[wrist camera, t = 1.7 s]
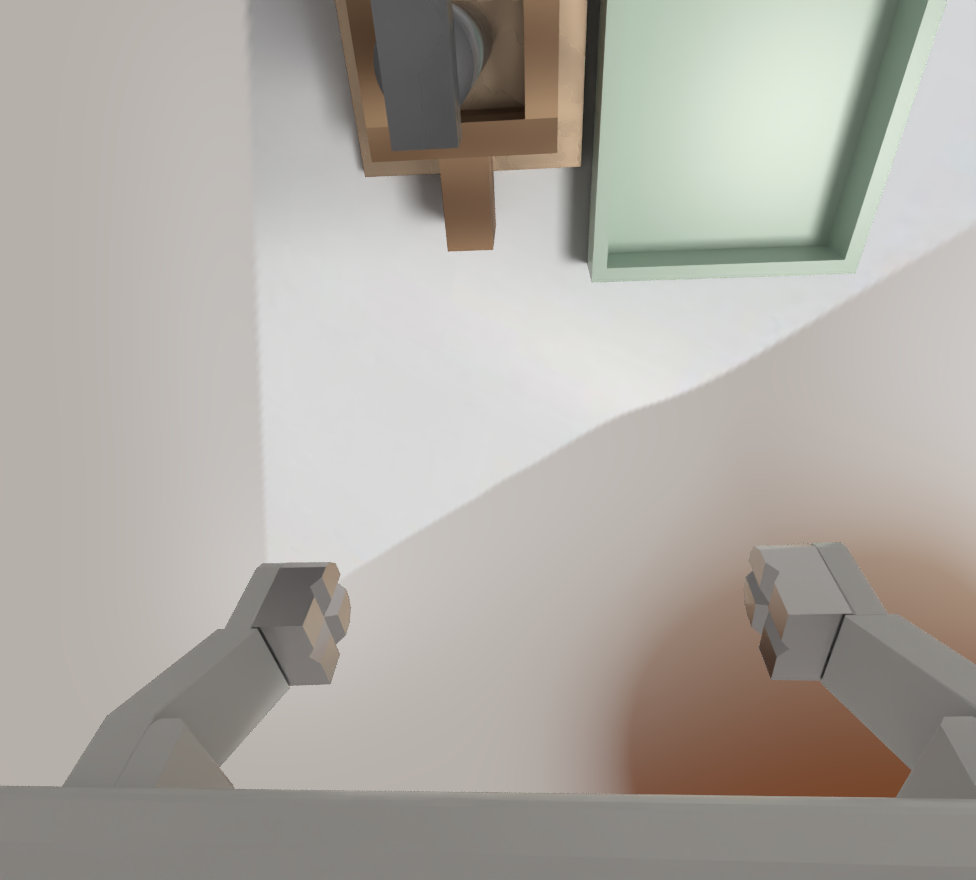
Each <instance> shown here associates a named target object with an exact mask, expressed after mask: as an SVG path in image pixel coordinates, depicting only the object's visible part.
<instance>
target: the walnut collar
mask: <svg viewBox="0 0 976 880" xmlns="http://www.w3.org/2000/svg"><path fill="white" fill-rule="evenodd" d="M523 3H524V72H525V107H512V108H495V109H477V110H460V113H461V126H462V140H461V143H460V145H459V147H458V148H447V149H427V150H408V151H392V149H391V142H390V135H389V128H388V121H387V114H386V107H385V100H384V95H383V93H382V92H381V90H380V87H379V85H378V82H377V79H376V76H375V71H374V63H373V53H374V45H375V41H376V37H375V29H374V22H373V15H372V8H371V1H370V0H346V6H347V13H348V19H349V25H350V31H351V37H352V43H353V49H354V56H355V62H356V68H357V74H358V80H359V86H360V93H361V99H362V105H363V111H364V117H365V123H366V129H367V136H368V142H369V148H370V154H371V160H372V162H392V161H412V160H431V159H439V166H440V176H441V186H442V197H443V207H444V217H445V227H446V237H447V248H448V251H472V250H493V245H494V237H495V229H496V219H495V198H494V176H493V156H511V155H531V154H551V153H557V135H558V70H559V6H560V0H523Z"/></svg>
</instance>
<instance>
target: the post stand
mask: <svg viewBox="0 0 976 880" xmlns="http://www.w3.org/2000/svg"><path fill="white" fill-rule="evenodd" d="M370 1H371V8H372V15H373V22H374V29H375V37H376V41H375V45H374V53H373V63H374V71H375V76H376V79H377V82H378V85H379V87H380V90H381V92H382V93H383V95H384V100H385V107H386V114H387V121H388V128H389V135H390V142H391V149H392V151H408V150H427V149H447V148H458V147H459V145H460V143H461V140H462V126H461V113H460V110H477V109H495V108H512V107H525V72H524V3H523V0H370ZM335 4H336V9H337V15H338V21H339V27H340V33H341V39H342V45H343V50H344V56H345V62H346V68H347V74H348V80H349V85H350V91H351V97H352V103H353V109H354V115H355V120H356V126H357V132H358V138H359V144H360V150H361V155H362V161H363V167H364V173H365V177H376V176H397V175H417V174H438V173H440V166H439V159H431V160H412V161H392V162H372V160H371V154H370V148H369V142H368V136H367V129H366V123H365V117H364V111H363V105H362V99H361V93H360V86H359V80H358V74H357V68H356V62H355V56H354V49H353V43H352V37H351V31H350V25H349V19H348V13H347V6H346V0H335ZM586 23H587V0H560V6H559V70H558V135H557V153H551V154H531V155H511V156H493V171H500V170H520V169H541V168H561V167H581V153H582V127H583V101H584V75H585V49H586Z"/></svg>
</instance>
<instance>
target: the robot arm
mask: <svg viewBox="0 0 976 880" xmlns="http://www.w3.org/2000/svg"><path fill="white" fill-rule="evenodd" d="M749 562H750V565H751V567H752V570H753V571H752V572H751V573H750V574H748V575H747V576H746V577H745V585H744V602H745V607H746V612H747V616H748V619H749V621H750V624H751V627H752V628H754V629H755V630H756V631H757V632H759V633H760V634H761V635H762V636H761V640H760V645H759V649H760V652H761V654H762V657H763V660H764V662H765V665H766V667H767V670H768V673H769V676H770V678H771V680H821V683H822V684H823V685H824V686H825V687H826V688H827V689H828V690H829V691H830V692H831V693H832V694H833V695H834V696H835V697H836V698H837V699H838V700H839V701H840V702H842V704H843V705H845V706H846V707H847V708H848V709H849V710H850V711H851V712H852V713H853V714H854V715H855V716H856V717H857V718H858V719H859V720H860V721H861V722H862V723H863V724H864V725H865V726H866V727H868V728H869V729H870V730H871V731H872V732H873V733H874V734H875V735H876V736H877V737H878V738H879V739H880V740H881V741H882V742H883V743H884V744H885V745H886V746H887V747H888V748H889V749H890V750H891V751H892V752H894V753H895V754H896V755H897V756H898V757H899V758H900V759H901V760H902V761H903V762H904V763H905V764H906V765H907V766H908V767H909V768H910V769H911V770H912V771H911V773H910V775H909V776H908V778H907V780H906V782H905V783H904V785H903V786H902V788H901V790H900V791H899V793H898V795H897V797H896V798H866V797H792V796H785V797H784V796H718V795H711V796H710V795H646V794H640V795H639V794H576V793H498V792H419V791H417V792H415V791H344V790H342V791H340V790H268V789H267V790H265V789H261V790H260V789H234V786H233V784H232V783H231V782H230V781H229V779H228V778H227V777H226V775H225V774H224V773H223V772H222V771H221V769H220V768H219V767H220V766H221V765H222V764H223V763H224V762H225V761H226V759H227V758H228V757H229V756H230V755H231V754H232V753H233V751H234V750H235V749H236V748H237V747H238V746H239V745H240V743H242V741H243V740H244V739H245V738H246V737H247V736H248V735H249V734H250V732H251V731H252V730H253V729H254V728H255V727H256V726H257V724H258V723H259V722H260V721H261V720H262V719H263V718H264V717H265V716H266V714H267V713H268V712H269V711H270V710H271V709H272V708H273V707H274V705H275V704H276V703H277V702H278V701H279V700H280V699H281V697H282V696H283V695H284V694H285V693H286V692H287V691H288V690H289V689H290V687H289V686H293V685H320V684H330V683H331V681H332V677H333V674H334V671H335V668H336V665H337V661H338V659H339V656H340V654H339V651H338V649H337V647H336V644H337V643H338V642H339V641H340V640H341V639H342V638H343V637H344V636H345V635H346V633H347V629H348V626H349V623H350V610H351V607H350V601H349V596H348V593H347V591H346V589H345V588H344V587H342V586H341V585H340V584H338V580H339V577H340V572H339V570H338V568H337V566H336V563H331V562H310V563H263V564H261V565H260V566H259V567H258V568H257V569H256V570H255V572H254V574H253V576H252V578H251V579H250V581H249V583H248V585H247V587H246V589H245V591H244V593H243V595H242V597H241V599H240V600H239V602H238V605H237V606H236V608H235V610H234V612H233V614H232V616H231V618H230V619H229V621H228V623H227V625H226V627H225V629H218V630H216V631H215V632H214V633H212V634H211V635H210V636H209V637H207V638H206V639H205V640H203V641H202V642H201V643H200V644H198V645H197V646H196V647H195V648H193V649H192V650H191V651H189V652H188V653H187V654H186V655H184V656H183V657H182V658H181V659H179V660H178V661H177V662H175V663H174V664H173V665H171V666H170V667H169V668H168V669H166V670H165V671H164V672H163V673H161V674H160V675H159V676H157V677H156V678H155V679H154V680H152V681H151V682H150V683H148V684H147V685H146V686H145V687H143V688H142V689H141V690H140V691H138V692H137V693H136V694H134V695H133V696H132V697H131V698H129V699H128V700H127V701H125V702H124V703H123V704H122V705H120V706H119V707H118V708H117V709H115V710H114V711H113V712H111V713H110V714H109V715H107V716H106V718H105V720H104V721H103V723H102V724H101V726H100V727H99V729H98V731H97V732H96V734H95V736H94V737H93V739H92V740H91V742H90V743H89V745H88V746H87V748H86V750H85V751H84V753H83V754H82V756H81V758H80V759H79V761H78V763H77V764H76V766H75V767H74V769H73V770H72V772H71V773H70V775H69V777H68V778H67V780H66V781H65V783H64V785H63V786H62V787H54V786H0V880H976V665H975V664H974V663H972V662H971V661H969V660H968V659H966V658H964V657H963V656H962V655H960V654H958V653H957V652H955V651H954V650H952V649H951V648H949V647H948V646H946V645H945V644H943V643H941V642H940V641H938V640H937V639H935V638H934V637H932V636H931V635H929V634H928V633H926V632H925V631H923V630H921V629H920V628H918V627H917V626H915V625H914V624H912V623H911V622H909V621H908V620H906V619H904V618H903V617H901V616H900V615H898V614H888V613H887V611H886V610H885V608H884V606H883V605H882V603H881V601H880V600H879V598H878V597H877V595H876V593H875V592H874V590H873V589H872V587H871V585H870V584H869V582H868V581H867V579H866V577H865V576H864V574H863V572H862V571H861V569H860V568H859V566H858V564H857V563H856V561H855V560H854V558H853V556H852V555H851V553H850V552H849V550H848V548H847V547H846V546H845V545H844V544H842V543H841V542H835V543H812V544H787V545H765V546H754V547H753V549H752V550H751V552H750V558H749Z"/></svg>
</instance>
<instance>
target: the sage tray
mask: <svg viewBox="0 0 976 880" xmlns="http://www.w3.org/2000/svg"><path fill="white" fill-rule="evenodd" d="M946 3H947V0H600V13H599V33H598V54H597V74H596V94H595V115H594V135H593V155H592V176H591V196H590V216H589V237H588V257H587V265H588V269H589V273H590V277H591V281H592V282H617V281H646V280H676V279H705V278H734V277H764V276H793V275H823V274H852V273H855V272H856V269H857V267H858V264H859V261H860V258H861V255H862V252H863V249H864V246H865V243H866V240H867V237H868V234H869V231H870V228H871V225H872V222H873V219H874V216H875V213H876V210H877V207H878V204H879V201H880V198H881V196H882V193H883V190H884V187H885V184H886V181H887V178H888V175H889V172H890V169H891V166H892V163H893V160H894V157H895V154H896V151H897V148H898V145H899V142H900V139H901V136H902V133H903V130H904V127H905V125H906V122H907V119H908V116H909V113H910V110H911V107H912V104H913V101H914V98H915V95H916V92H917V89H918V86H919V83H920V80H921V77H922V74H923V71H924V68H925V65H926V62H927V59H928V56H929V54H930V51H931V48H932V45H933V42H934V39H935V36H936V33H937V30H938V27H939V24H940V21H941V18H942V15H943V12H944V9H945V6H946Z"/></svg>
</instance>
